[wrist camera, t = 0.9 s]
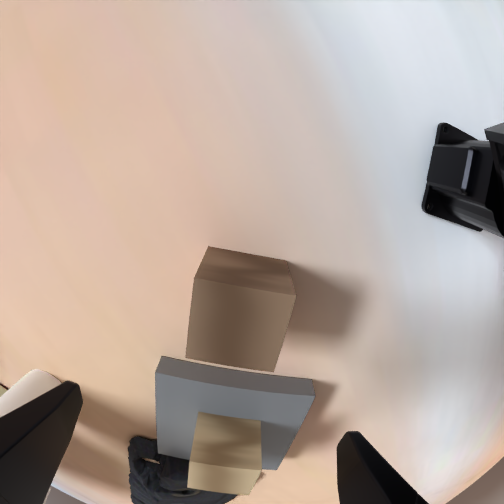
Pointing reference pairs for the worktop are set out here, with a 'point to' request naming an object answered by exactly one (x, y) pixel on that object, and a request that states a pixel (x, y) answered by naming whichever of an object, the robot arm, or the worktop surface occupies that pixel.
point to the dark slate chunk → (164, 478)
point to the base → (228, 405)
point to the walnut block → (239, 309)
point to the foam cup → (27, 392)
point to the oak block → (225, 454)
